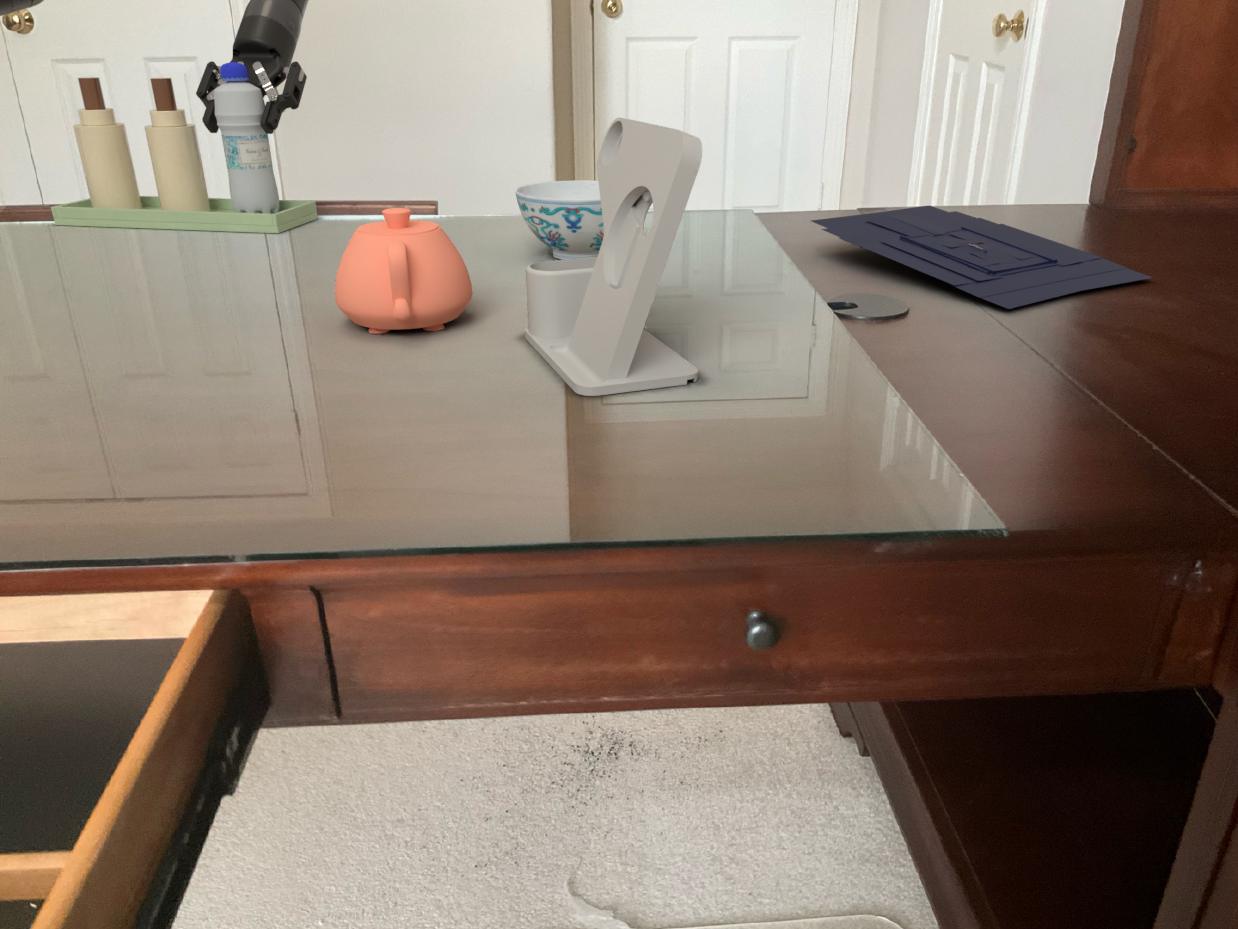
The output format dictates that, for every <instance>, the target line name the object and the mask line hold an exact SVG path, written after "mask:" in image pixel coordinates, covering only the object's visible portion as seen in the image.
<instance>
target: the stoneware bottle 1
mask: <svg viewBox="0 0 1238 929" xmlns="http://www.w3.org/2000/svg"><path fill="white" fill-rule="evenodd" d="M77 81H78V85H79V89H80V94H81V98H82V103H83V107H84V108H78V109H77V114H78V119H79V123H77V124H73V125H72V128H73V131H74V136H75V140H76V144H77V148H78V153H79V158H80V161H81V166H82V170H83V175H84V178H85V179H84V180H85V182H86V188H87V191H88V195H89V198H90V200H91V205H92V208H116V209H143V208H142V204H141V199H140V196H141V194H140V190H139V185H138V181H137V176H136V171H135V166H134V161H133V157H132V153H131V148H130V144H129V143H130V142H129V139H128V133H127V129H126V124H125V123H124V122H117V120H116V115H115V114H116V113H115V110H114V108H112V107H107V106H106V102H105V98H104V93H103V89H102V83H101V79H100V77H97V76H96V77H92V76H91V77H90V76H89V77H87V76H86V77H78V78H77Z"/></svg>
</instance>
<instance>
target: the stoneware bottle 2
mask: <svg viewBox="0 0 1238 929" xmlns="http://www.w3.org/2000/svg"><path fill="white" fill-rule="evenodd" d="M150 85H151V89H152V96H153V100H154V104H155V109H150V110H149V111H148V112H149V116H150V121H151V124H149V125H145V126H144V133H145V138H146V141H147V142H146V143H147V147H148V152H149V157H150V161H151V166H152V171H153V176H154V182H155V186H156V191H157V196H159V201H160V206H161V210H176V211H205V212H211V209H210V203H209V198H210V197H209V193H208V187H207V182H206V176H205V171H204V165H203V160H202V154H201V148H200V144H199V138H198V133H197V128H196V124H194V123H188V120H187V116H186V111H185V110H186V109H183V108H178V107H177V100H176V96H175V90H174V85H173V79H172V78H171V77H151V78H150Z"/></svg>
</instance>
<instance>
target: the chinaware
mask: <svg viewBox="0 0 1238 929" xmlns="http://www.w3.org/2000/svg"><path fill="white" fill-rule="evenodd" d="M514 193H515V198H516V201H517V206H518V208H519V211H520V213H521V216H522V218H523V221H524V222H525V224H526V226H527V228H529V230H530V231H531V233H532V234H533V235H534V236H535V237H536V239H538V240H539V241H541V243H543V244H544V245H546V247H549V248H550V249H551V250H552V257H553V258H555V259H558V260H567V259H580V258H593V257H598V254H599V251H600V248H601V244H602V241H603V237H604V224H603V216H602V207H601V199H600V191H599V183H598V180H594V179H593V180H591V179H590V180H589V179H586V180H583V179H582V180H581V179H580V180H579V179H578V180H577V179H576V180H553V181H543V182H535V183H529V184H525V185H522V186H519V187H517V188H516V189H515V192H514Z"/></svg>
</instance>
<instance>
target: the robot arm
mask: <svg viewBox="0 0 1238 929" xmlns="http://www.w3.org/2000/svg"><path fill="white" fill-rule="evenodd" d="M44 1H45V0H0V17H2V16H6V15H10V14H13V13H16V12H19V11H23V10H26V9H30V8H33V7H36V6H38V5H40V4H41V3H43V2H44ZM309 1H310V0H249V1H248V3H247V5H246V7H245V9H244V12H243V15H242V18H241V20H240V23H239V27H238V29H237V32H236V35H235V38H234V41H233V44H232V59H231V60H230V61H229V63H230V62H236V63H241V64H243V65H245V66H246V68H247V71H248V77H249V80H248V81H246V82H248V83H250V84H252V85H254V86H256V87H258V88H260V89H261V92H262V95H263V99H264V98H265V97H266V96H267V98H268V100H269V101H266V102H265V108H264V111H263V115H262V118H261V121H260V125H261V127H262V128H263V130H264V131H265V133H266V134H268V135H272V134H274V131H276V130H277V129H278V127H279V124H280V121H281V119H282V114H283V113H284V112H285V111H286V110H287V109H291V110H297V109H298V108H299V107H300V104H301V101H302V96H303V92H304V89H305V86H306V83H307V82H306V81H307V78H308V76H307V74H306V73H305V71H304V70H303V68H302V66H301V64H300V63H299V62H298V61H293V58H294V55H295V52H296V49H297V45H298V42H299V39H300V36H301V30H302V23H303V19H304V16H305V14H306V13H305V12H306V10H307V7H308V4H309ZM221 66H222V65H221ZM221 66H220V65H217V63H216V62H214V61H213V60H211V61H208V63H206V66H205V69H204V71H203V74H202V76H201V78H200V81H199V84H198V87H197V89H196V92H195V95H196V96H197V98H198V99H199V100H200V101H201V102H202V104H203V105H204V107H205V110H204V113H203V116H202V119H201V120H202V123H203V124H204V126H205V128H206V129H207V130H208V132H209V133H211V134H217V133H219V132H218V131H219V130H220V128H219V127H218V125H217V119H216V116H215V103H214V90H215V89H216V88H218V87H219V86H221V85H222V84H224V83H225V82H227V81H222V78H221V72H220V68H221ZM284 81H285V83H284V86H283V90H282V93H279V90H278V89H277V88H278V87H279V86H280V85H281V84H282V83H283V82H284Z"/></svg>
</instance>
